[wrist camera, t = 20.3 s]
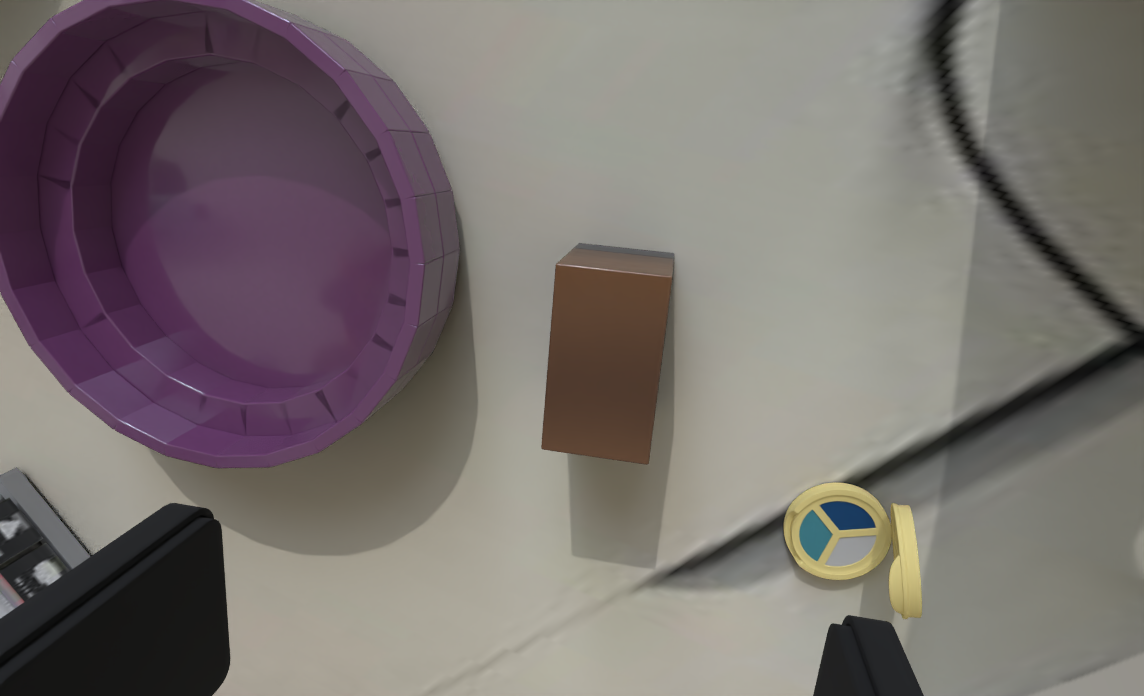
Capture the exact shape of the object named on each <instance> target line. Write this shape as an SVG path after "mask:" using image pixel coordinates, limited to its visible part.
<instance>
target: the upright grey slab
mask: <svg viewBox="0 0 1144 696" xmlns="http://www.w3.org/2000/svg"><path fill="white" fill-rule="evenodd" d="M89 557H90V555H89V554H88V553H87V552H86V551H85V549H84V548H83V547H82V546H81V545H80V543H79V542H78V541H77V540H76V538H75V537H74V536H73V535H72V534H71V532H70V531H69V530H68V529H67V527H66V526H65V525H64V524H63V523H62V521H61V520H60V519H59V518H58V517H57V515H56V514H55V513H54V512H53V510H52V509H51V508H50V507H49V506H48V504H47V503H46V502H45V501H44V500H43V498H42V497H41V496H40V495H39V493H38V492H37V491H36V490H35V489H34V487H33V486H32V485H31V484H30V483H29V481H28V479H27V477H26V476H25V475H24V474H23V473H21V472H20V470H19V469H18V468H17V467H16V468H14V469H12V470H10V471H8V472H6V473H4V474H2V475H0V618H2V617H3V616H5V615H6V614H8V613H9V612H11V611H12V610H13V609H15V608H16V607H18V606H19V605H21V604H22V603H24V602H25V601H27V600H28V599H30V598H31V597H32V596H34V595H35V594H37V593H38V592H40V591H41V590H43V589H44V588H46V587H47V586H49V585H50V584H51V583H53V582H54V581H56V580H57V579H59V578H60V577H62V576H63V575H65V574H66V573H68V572H69V571H70V570H72V569H73V568H75V567H76V566H78V565H79V564H81V563H82V562H84V561H85V560H86V559H88V558H89Z"/></svg>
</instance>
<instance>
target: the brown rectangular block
mask: <svg viewBox="0 0 1144 696" xmlns="http://www.w3.org/2000/svg"><path fill="white" fill-rule="evenodd" d="M673 266H674V253H666V252H657V251H648V250H638V249H629V248H620V247H610V246H601V245H592V244H582V243H579V244H578V245H577V246H576V247H574V248H573V249H572V250H571V251H570V252H569V253H568V254H567V255H566V256H564V257H563V258H562V259H561V260H560V261H559V262H558V263H557V264H556V269H555V281H554V294H553V307H552V319H551V332H550V345H549V357H548V370H547V383H546V395H545V408H544V421H543V433H542V446H541V448H542V449H544V450H550V451H557V452H564V453H571V454H578V455H585V456H592V457H599V458H606V459H612V460H619V461H626V462H633V463H640V464H648V463H649V457H650V449H651V441H652V434H653V426H654V418H655V410H656V402H657V394H658V387H659V379H660V371H661V363H662V355H663V348H664V340H665V332H666V324H667V316H668V309H669V301H670V293H671V285H672V277H673Z"/></svg>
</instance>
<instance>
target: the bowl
mask: <svg viewBox="0 0 1144 696" xmlns="http://www.w3.org/2000/svg"><path fill="white" fill-rule="evenodd" d="M12 60H13V61H11V62H10V65H9V67H8V69H7V71H6V73H5V75H4V77H3V80H2V82H1V84H0V292H1V295H2V297H3V299H4V301H5V303H6V305H7V306H8V308H9V310H10V312H11V314H12V316H13V317H14V319H15V321H16V323H17V325H18V327H19V328H20V330H21V332H22V334H23V336H24V338H25V339H26V341H27V343H28V345H29V346H31V349H32V350H33V351H34V353H35V354H36V355H37V356H38V357H39V359H40V360H41V361H42V362H43V363H44V365H45V366H46V367H47V368H48V369H49V371H50V372H51V373H52V374H53V375H54V377H55V378H56V379H57V380H58V381H59V383H60V384H61V385H62V386H63V387H64V389H65V390H66V391H67V392H68V393H69V394H70V395H71V396H72V397H74V398H75V399H76V400H77V401H79V402H80V403H81V404H82V405H84V406H85V407H86V408H87V409H89V410H90V411H91V412H92V413H94V414H95V415H96V416H97V417H99V418H100V419H101V420H102V421H104V422H105V423H106V424H107V425H108V426H110V427H111V428H112V429H115V431H117V432H119V433H121V434H123V435H125V436H127V437H129V438H131V439H133V440H135V441H137V442H139V443H141V444H143V445H145V446H147V447H149V448H151V449H153V450H155V451H157V452H159V453H161V454H163V455H165V456H168V457H172V458H176V459H180V460H185V461H189V462H193V463H197V464H201V465H205V466H209V467H213V468H269V467H274V466H277V465H280V464H284V463H287V462H290V461H294V460H297V459H300V458H303V457H307V456H310V455H313V454H317V453H319V452H321V451H323V450H324V449H326V448H327V447H329V446H330V445H332V444H333V443H335V442H336V441H337V440H339V439H340V438H342V437H343V436H345V435H346V434H348V433H349V432H351V431H352V430H354V429H355V428H357V427H358V426H360V425H361V424H362V423H364V422H365V421H366V420H367V419H368V418H370V417H371V416H372V415H373V414H374V413H375V412H377V411H378V410H379V409H380V408H381V407H382V406H384V405H385V404H386V403H387V402H388V401H390V400H391V399H392V398H393V397H394V396H395V395H397V394H398V393H399V392H400V391H401V390H402V389H404V387H405V386H406V385H407V384H408V382H409V381H410V380H411V379H412V377H413V376H414V375H415V374H416V373H417V371H418V370H419V369H420V368H421V366H422V365H423V364H424V363H425V361H426V360H427V359H428V358H429V356H430V355H431V354H432V353H433V351H434V349H435V346H436V344H437V342H438V339H439V337H440V334H441V332H442V330H443V327H444V325H445V322H446V320H447V318H448V315H449V313H450V310H451V308H452V306H453V302H454V294H455V286H456V278H457V270H458V262H459V254H460V249H459V248H460V245H459V237H458V230H457V222H456V214H455V206H454V199H453V192H452V191H451V186H450V183H449V181H448V178H447V176H446V173H445V170H444V168H443V165H442V163H441V160H440V158H439V155H438V152H437V150H436V147H435V145H434V142H433V140H432V137H431V135H430V134H429V130H428V129H427V128H426V126H425V125H424V123H423V122H422V120H421V119H420V118H419V116H418V115H417V113H416V112H415V110H414V109H413V108H412V106H411V105H410V103H409V102H408V100H407V99H406V98H405V96H404V95H403V93H402V92H401V90H400V89H399V87H398V86H397V85H396V83H395V82H393V80H392V79H391V78H390V77H389V76H388V75H386V74H385V73H384V72H383V71H382V70H381V69H380V68H378V67H377V66H376V65H375V64H374V63H373V62H372V61H370V60H369V59H368V58H367V57H366V56H365V55H364V54H362V53H361V52H360V51H359V50H358V49H357V48H355V47H354V46H353V45H352V44H351V43H350V42H349V41H347V40H346V39H344V38H342V37H340V36H338V35H336V34H333V33H331V32H329V31H327V30H325V29H323V28H321V27H319V26H317V25H315V24H313V23H311V22H309V21H307V20H305V19H303V18H301V17H299V16H297V15H295V14H292V13H289V12H286V11H283V10H280V9H278V8H275V7H272V6H269V5H266V4H263V3H260V2H257V1H255V0H83V1H81V2H79V3H77V4H75V5H73V6H71V7H70V8H68V9H66V10H64V11H62V12H60V13H58V14H56V15H55V16H53V17H52V18H50V19H49V20H48V21H47V22H46V23H45V24H44V25H43V26H42V28H41V29H40V30H39V31H38V32H37V33H36V34H35V35H34V36H33V37H32V38H31V39H30V41H29V42H28V43H27V44H26V45H25V46H24V47H23V48H22V49H21V50H20V51H19V52H18V54H17V55H16V56H15V57H14V58H13V59H12Z"/></svg>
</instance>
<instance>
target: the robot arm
mask: <svg viewBox="0 0 1144 696" xmlns="http://www.w3.org/2000/svg"><path fill="white" fill-rule="evenodd" d="M229 666H230V647H229V632H228V617H227V602H226V587H225V572H224V557H223V542H222V529H221V524H220V523H219V521H217V520H215V519H214V516H213V514H212V512H211V511H210V510H208V509H207V508H201V507H195V506H189V505H183V504H177V503H170V504H168V505H166V506H164V507H162V508H161V509H160V510H158V511H157V512H155V513H154V514H152V515H151V516H149V517H148V518H146V519H145V520H143V521H142V522H141V523H139V524H138V525H136V526H135V527H133V528H132V529H130V530H129V531H127V532H126V533H124V534H123V535H122V536H120V537H119V538H117V539H116V540H114V541H113V542H111V543H110V544H108V545H107V546H105V547H104V548H103V549H101V550H100V551H98V552H97V553H95V554H94V555H92V556H91V557H89V558H88V559H86V560H85V561H84V562H82V563H81V564H79V565H78V566H76V567H75V568H73V569H72V570H70V571H69V572H68V573H66V574H65V575H63V576H62V577H60V578H59V579H57V580H56V581H54V582H53V583H51V584H50V585H49V586H47V587H46V588H44V589H43V590H41V591H40V592H38V593H37V594H35V595H34V596H32V597H31V598H30V599H28V600H27V601H25V602H24V603H22V604H21V605H19V606H18V607H16V608H15V609H13V610H12V611H11V612H9V613H8V614H6V615H5V616H3V617H2V618H0V696H212V695H213V694H214V693H215V692H216V691H217V689H218V688H219V687H220V686H221V684H222V683H223V681H224V680H225V678H226V676H227V673H228V670H229ZM813 696H924V695H923V693H922V691H921V688H920V686H919V684H918V682H917V679H916V677H915V675H914V673H913V670H912V668H911V666H910V663H909V661H908V659H907V657H906V654H905V652H904V650H903V647H902V645H901V643H900V641H899V638H898V636H897V634H896V632H895V629H894V627H893V626H892V624H891V623H889V622H887V621H881V620H875V619H869V618H863V617H857V616H851V615H848V616H846V617H845V619H844V621H843V623H842V625H840V624H834V623H833V624H831V625H830V627H829V630H828V633H827V637H826V642H825V646H824V651H823V655H822V659H821V664H820V668H819V673H818V677H817V682H816V686H815V690H814V695H813Z"/></svg>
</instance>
